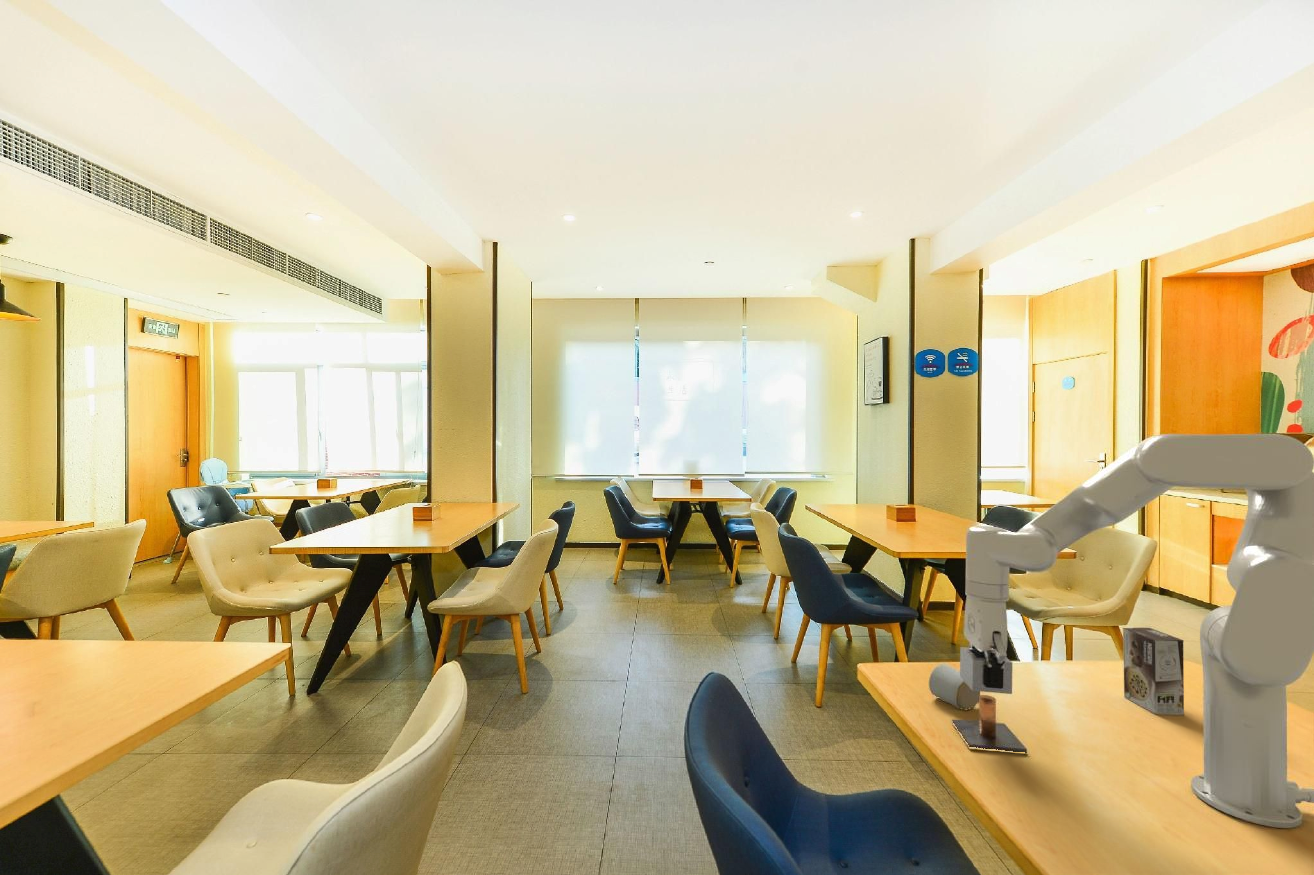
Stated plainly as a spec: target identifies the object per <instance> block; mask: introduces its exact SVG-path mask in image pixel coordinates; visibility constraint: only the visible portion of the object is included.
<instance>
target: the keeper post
mask: <svg viewBox="0 0 1314 875" xmlns="http://www.w3.org/2000/svg"><path fill="white" fill-rule="evenodd" d="M978 703H979V712H978V714H979V721H977V720H975V721H974V720H965V719H951V722H952V721H953V723H954V724H955V726H956V727H957V729H958V731H959V732H960V733H961V734H962V736H963V738H964V739H965V741H966V742H967V743H968V745H969V747H976V748H977V747H978V748H983V749H984V748H985V749H996V750H997V749H998V750H1005V751H1013V752H1025V753H1027V754H1028V749H1027V748H1026V746H1025V745H1024V744H1023V743H1022V741H1021V740H1019V738H1018V737H1017V736H1016V735H1015V734H1014V732H1012V730H1011V729H1010V728H1009V727H1008V725H1006V723H1001V722H996V721H997V719H996V718H997V717H996V716H997V713H996V712H997V706H996V705H997V704H996V703H997V700H996V698H995V697H993V696H991V695H988V694H987V695H986V694H980V696H979V702H978Z"/></svg>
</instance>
